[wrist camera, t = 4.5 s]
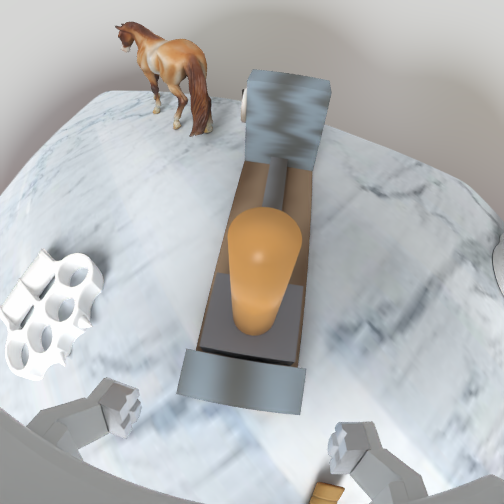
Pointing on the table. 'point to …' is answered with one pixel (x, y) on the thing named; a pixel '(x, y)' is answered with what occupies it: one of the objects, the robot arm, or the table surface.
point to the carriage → (257, 291)
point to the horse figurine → (172, 71)
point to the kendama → (326, 493)
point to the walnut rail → (278, 197)
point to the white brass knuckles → (48, 311)
